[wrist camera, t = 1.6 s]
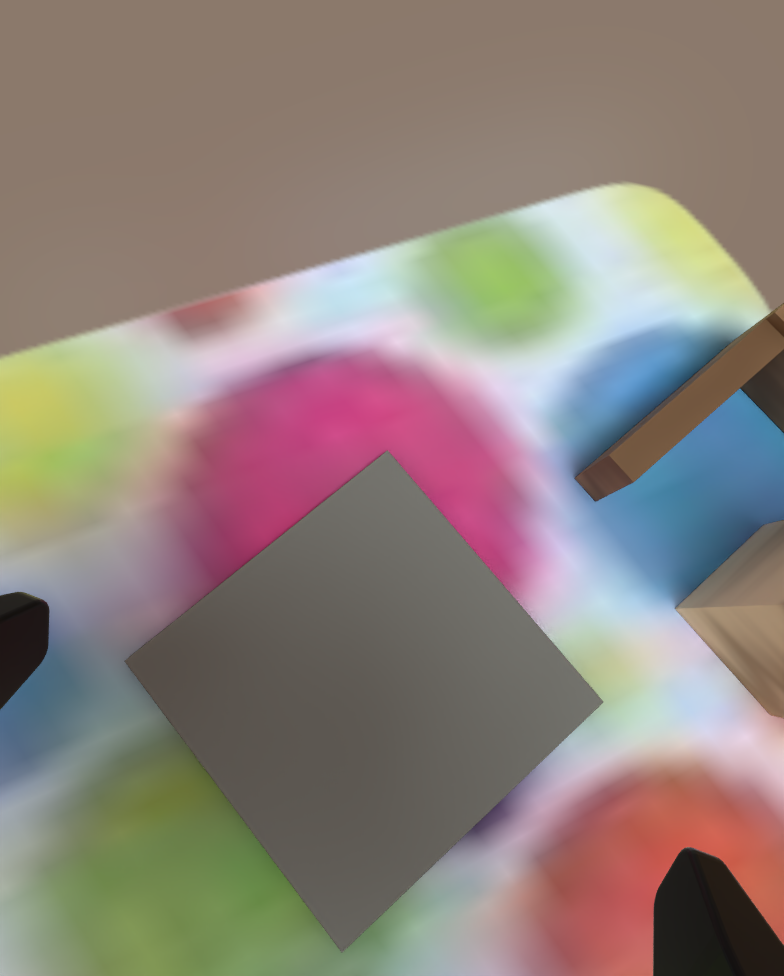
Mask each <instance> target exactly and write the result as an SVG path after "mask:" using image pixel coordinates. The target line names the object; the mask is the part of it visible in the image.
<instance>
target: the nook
mask: <svg viewBox="0 0 784 976" xmlns="http://www.w3.org/2000/svg"><path fill="white" fill-rule="evenodd" d="M739 388H741V389H742V390H743V391H744V392H745V393H746V394H747V395H748V396H749V397H750V398H751V399H752V400H753V401H754V402H755V403H756V404H757V405H758V406H759V407H760V408H761V409H762V410H763V411H764V412H765V413H766V414H767V415H768V417H769V418H770V419H771V420H772V421H773V422H774V423H775V424H776V425H777V426H778V427H779V428H780V429H781V430H782V431H783V432H784V303H783V304H782V305H780V306H779V307H778V308H776V309H775V310H774V311H772V312H771V313H770V314H768V315H767V316H766V317H764V318H763V319H762V320H760V321H759V322H758V323H756V324H755V325H754V326H752V327H751V328H750V329H748V330H747V331H746V332H744V333H743V334H742V335H740V336H739V337H738V338H736V339H735V340H734V341H732V342H731V343H730V344H729V345H728V346H727V347H726V348H724V349H723V350H722V351H721V352H720V353H719V354H717V355H716V356H715V357H714V358H713V359H712V360H711V361H709V362H708V363H707V364H706V365H705V366H704V367H702V368H701V369H700V370H699V371H698V372H697V373H695V374H694V375H693V376H692V377H691V378H690V379H689V380H687V381H686V382H685V383H684V384H683V385H682V386H680V387H679V388H678V389H677V390H676V391H675V392H674V393H672V394H671V395H670V396H669V397H668V398H667V399H665V400H664V401H663V402H662V403H661V404H660V405H659V406H657V407H656V408H655V409H654V410H653V411H652V412H650V413H649V414H648V415H647V416H646V417H645V418H643V419H642V420H641V421H640V422H639V423H638V424H637V425H635V426H634V427H633V428H632V429H631V430H630V431H628V432H627V433H626V434H625V435H624V436H623V437H622V438H620V439H619V440H618V441H617V442H616V443H615V444H613V445H612V446H611V447H610V448H609V449H608V450H607V451H605V452H604V453H603V454H602V455H601V456H600V457H598V458H597V459H596V460H595V461H594V462H593V463H592V464H590V465H589V466H588V467H587V468H586V469H585V470H583V471H582V472H581V473H580V474H579V475H578V476H576V477H575V479H576V480H577V481H578V483H579V484H580V485H581V486H582V487H583V488H584V489H585V490H586V491H587V493H588V494H589V495H590V496H591V497H592V498H593V499H594V500H595V501H598V500H600V499H602V498H604V497H606V496H608V495H609V494H611V493H613V492H615V491H617V490H619V489H621V488H623V487H625V486H627V485H629V484H631V483H633V482H634V481H636V480H637V479H638V478H639V477H640V476H641V475H642V474H643V473H645V472H646V471H647V470H648V469H649V468H650V467H651V466H652V465H654V464H655V463H656V462H657V461H658V460H659V459H660V458H662V457H663V456H664V455H665V454H666V453H667V452H668V451H669V450H671V449H672V448H673V447H674V446H675V445H676V444H677V443H678V442H680V441H681V440H682V439H683V438H684V437H685V436H686V435H687V434H689V433H690V432H691V431H692V430H693V429H694V428H695V427H696V426H698V425H699V424H700V423H701V422H702V421H703V420H704V419H706V418H707V417H708V416H709V415H710V414H711V413H712V412H713V411H715V410H716V409H717V408H718V407H719V406H720V405H721V404H722V403H724V402H725V401H726V400H727V399H728V398H729V397H730V396H731V395H733V394H734V393H735V392H736V391H737V390H738V389H739Z"/></svg>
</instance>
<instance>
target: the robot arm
mask: <svg viewBox="0 0 784 976" xmlns="http://www.w3.org/2000/svg"><path fill="white" fill-rule="evenodd" d="M48 635H49V607H48V604H47V602H45V601H44V600H42V599H40V598H37V597H35V596H32V595H29V594H27V593H23V592H15V593H10V594H6V595H1V596H0V709H1V708H2V707H3V706H4V705H5V704H6V703H7V701H8V700H9V699H10V698H11V697H12V696H13V695H14V693H15V692H16V691H17V690H18V689H19V688H20V687H21V685H22V684H23V683H24V682H25V681H26V680H27V679H28V677H29V676H30V675H31V674H32V673H33V672H34V671H35V670H36V668H37V667H38V666H39V665H40V664H41V662H42V661H43V659H44V657H45V655H46V652H47V649H48ZM653 976H784V945H783V944H782V942H781V941H780V940H779V938H778V937H777V935H776V934H775V933H774V931H773V930H772V929H771V927H770V926H769V924H768V923H767V922H766V920H765V919H764V917H763V916H762V915H761V913H760V912H759V910H758V909H757V908H756V906H755V905H754V903H753V902H752V901H751V899H750V898H749V897H748V895H747V894H746V892H745V891H744V890H743V888H742V887H741V885H740V884H739V883H738V881H737V880H736V878H735V877H734V876H733V874H732V873H731V871H730V870H729V869H728V867H727V866H726V865H725V864H724V862H723V861H721V860H720V859H719V858H717V857H715V856H712V855H710V854H707V853H705V852H702V851H699V850H697V849H694V848H691V847H687V848H684V849H683V850H681V852H680V853H679V854H678V856H677V858H676V859H675V861H674V863H673V864H672V866H671V868H670V869H669V871H668V873H667V874H666V876H665V878H664V879H663V881H662V883H661V884H660V886H659V888H658V890H657V893H656V897H655V902H654V931H653Z"/></svg>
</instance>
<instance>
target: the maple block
mask: <svg viewBox="0 0 784 976" xmlns="http://www.w3.org/2000/svg"><path fill="white" fill-rule="evenodd" d="M675 609H676V610H677V612H678V613H679V614H680V615H681V616H682V617H683V618H684V619H685V621H686V622H687V623H688V624H689V625H690V626H691V627H692V628H693V629H694V631H695V632H696V633H697V634H698V635H699V636H700V637H701V638H702V639H703V641H704V642H705V643H706V644H707V645H708V646H709V647H710V648H711V649H712V651H713V652H714V653H715V654H716V655H717V656H718V657H719V658H720V659H721V661H722V662H723V663H724V664H725V665H726V666H727V667H728V668H729V670H730V671H731V672H732V673H733V674H734V675H735V676H736V677H737V678H738V680H739V681H740V682H741V683H742V684H743V685H744V686H745V687H746V688H747V690H748V691H749V692H750V693H751V694H752V695H753V696H754V697H755V698H756V700H757V701H758V702H759V703H760V704H761V705H762V706H763V707H764V709H765V710H766V711H767V712H768V713H769V714H770V715H772V716H776V717H781V718H784V520H781V521H777V522H773V523H769V524H764V525H763V526H762V527H761V528H759V529H758V530H757V531H756V532H755V533H754V534H753V535H752V536H751V537H750V538H749V539H748V540H747V541H746V542H745V543H744V544H743V545H742V546H741V547H739V548H738V549H737V550H736V551H735V552H734V553H733V554H732V555H731V556H730V557H729V558H728V559H727V560H726V561H725V562H724V563H723V564H722V565H720V566H719V567H718V568H717V569H716V570H715V571H714V572H713V573H712V574H711V575H710V576H709V577H708V578H707V579H706V580H705V581H704V582H703V583H702V584H700V585H699V586H698V587H697V588H696V589H695V590H694V591H693V592H692V593H691V594H690V595H689V596H688V597H687V598H686V599H685V600H684V601H683V602H681V603H680V604H679V605H678V606H677V607H676V608H675Z"/></svg>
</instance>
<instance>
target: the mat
mask: <svg viewBox="0 0 784 976" xmlns="http://www.w3.org/2000/svg"><path fill="white" fill-rule="evenodd" d="M125 663H126V664H127V665H128V667H129V668H130V669H131V671H132V672H133V673H134V675H135V676H136V677H137V679H138V680H139V681H140V683H141V684H142V685H143V687H144V688H145V689H146V691H147V692H148V693H149V695H150V696H151V697H152V699H153V700H154V701H155V703H156V704H157V705H158V707H159V708H160V710H161V711H162V712H163V714H164V715H165V716H166V718H167V719H168V720H169V722H170V723H171V724H172V726H173V727H174V728H175V730H176V731H177V732H178V734H179V735H180V736H181V738H182V739H183V740H184V742H185V743H186V744H187V746H188V747H189V748H190V750H191V751H192V752H193V754H194V755H195V756H196V758H197V759H198V760H199V762H200V763H201V764H202V766H203V767H204V768H205V770H206V771H207V773H208V774H209V775H210V777H211V778H212V779H213V781H214V782H215V783H216V785H217V786H218V787H219V789H220V790H221V791H222V793H223V794H224V795H225V797H226V798H227V799H228V801H229V802H230V803H231V805H232V806H233V807H234V809H235V810H236V811H237V813H238V814H239V815H240V817H241V818H242V819H243V821H244V822H245V823H246V825H247V826H248V827H249V829H250V830H251V831H252V833H253V834H254V836H255V837H256V838H257V840H258V841H259V842H260V844H261V845H262V846H263V848H264V849H265V850H266V852H267V853H268V854H269V856H270V857H271V858H272V860H273V861H274V862H275V864H276V865H277V866H278V868H279V869H280V870H281V872H282V873H283V874H284V876H285V877H286V878H287V880H288V881H289V882H290V884H291V885H292V886H293V888H294V889H295V890H296V892H297V893H298V894H299V896H300V897H301V899H302V900H303V901H304V903H305V904H306V905H307V907H308V908H309V909H310V911H311V912H312V913H313V915H314V916H315V917H316V919H317V920H318V921H319V923H320V924H321V925H322V927H323V928H324V929H325V931H326V932H327V933H328V935H329V936H330V937H331V939H332V940H333V941H334V943H335V944H336V945H337V947H338V948H339V949H340V951H341V952H343V951H344V950H345V949H346V948H347V947H348V946H350V945H351V944H352V943H353V942H354V941H355V940H356V939H357V938H358V937H359V936H360V935H361V934H362V933H363V932H364V931H365V930H366V929H367V928H368V927H369V926H370V925H371V924H372V923H374V922H375V921H376V920H377V919H378V918H379V917H380V916H381V915H382V914H383V913H384V912H385V911H386V910H387V909H388V908H389V907H390V906H391V905H392V904H393V903H394V902H395V901H396V900H398V899H399V898H400V897H401V896H402V895H403V894H404V893H405V892H406V891H407V890H408V889H409V888H410V887H411V886H412V885H413V884H414V883H415V882H416V881H417V880H418V879H419V878H420V877H422V876H423V875H424V874H425V873H426V872H427V871H428V870H429V869H430V868H431V867H432V866H433V865H434V864H435V863H436V862H437V861H438V860H439V859H440V858H441V857H442V856H443V855H444V854H446V853H447V852H448V851H449V850H450V849H451V848H452V847H453V846H454V845H455V844H456V843H457V842H458V841H459V840H460V839H461V838H462V837H463V836H464V835H465V834H466V833H467V832H468V831H470V830H471V829H472V828H473V827H474V826H475V825H476V824H477V823H478V822H479V821H480V820H481V819H482V818H483V817H484V816H485V815H486V814H487V813H488V812H489V811H490V810H491V809H492V808H494V807H495V806H496V805H497V804H498V803H499V802H500V801H501V800H502V799H503V798H504V797H505V796H506V795H507V794H508V793H509V792H510V791H511V790H512V789H513V788H514V787H515V786H516V785H518V784H519V783H520V782H521V781H522V780H523V779H524V778H525V777H526V776H527V775H528V774H529V773H530V772H531V771H532V770H533V769H534V768H535V767H536V766H537V765H538V764H539V763H540V762H542V761H543V760H544V759H545V758H546V757H547V756H548V755H549V754H550V753H551V752H552V751H553V750H554V749H555V748H556V747H557V746H558V745H559V744H560V743H561V742H562V741H563V740H564V739H566V738H567V737H568V736H569V735H570V734H571V733H572V732H573V731H574V730H575V729H576V728H577V727H578V726H579V725H580V724H581V723H582V722H583V721H584V720H585V719H586V718H587V717H588V716H590V715H591V714H592V713H593V712H594V711H595V710H596V709H597V708H598V707H599V706H600V705H601V704H602V703H603V701H602V700H601V698H600V697H599V696H598V695H597V694H596V693H595V691H594V690H593V689H592V688H591V687H590V686H589V684H588V683H587V682H586V681H585V680H584V679H583V677H582V676H581V675H580V674H579V673H578V672H577V670H576V669H575V668H574V667H573V666H572V665H571V663H570V662H569V661H568V660H567V659H566V658H565V656H564V655H563V654H562V653H561V652H560V651H559V649H558V648H557V647H556V646H555V645H554V644H553V642H552V641H551V640H550V639H549V638H548V637H547V635H546V634H545V633H544V632H543V631H542V630H541V629H540V627H539V626H538V625H537V624H536V623H535V622H534V620H533V619H532V618H531V617H530V616H529V615H528V613H527V612H526V611H525V610H524V609H523V608H522V606H521V605H520V604H519V603H518V602H517V601H516V599H515V598H514V597H513V596H512V595H511V594H510V592H509V591H508V590H507V589H506V588H505V587H504V585H503V584H502V583H501V582H500V581H499V580H498V578H497V577H496V576H495V575H494V574H493V573H492V571H491V570H490V569H489V568H488V567H487V566H486V564H485V563H484V562H483V561H482V560H481V559H480V557H479V556H478V555H477V554H476V553H475V552H474V550H473V549H472V548H471V547H470V546H469V545H468V543H467V542H466V541H465V540H464V539H463V538H462V536H461V535H460V534H459V533H458V532H457V531H456V530H455V528H454V527H453V526H452V525H451V524H450V523H449V521H448V520H447V519H446V518H445V517H444V516H443V514H442V513H441V512H440V511H439V510H438V509H437V507H436V506H435V505H434V504H433V503H432V502H431V500H430V499H429V498H428V497H427V496H426V495H425V493H424V492H423V491H422V490H421V489H420V488H419V486H418V485H417V484H416V483H415V482H414V481H413V479H412V478H411V477H410V476H409V475H408V474H407V472H406V471H405V470H404V469H403V468H402V467H401V465H400V464H399V463H398V462H397V461H396V460H395V458H394V457H393V456H392V455H391V454H390V453H389V451H388V450H387V451H386V452H385V453H384V454H382V455H381V456H380V457H379V458H377V459H376V460H375V461H374V462H372V463H371V464H370V465H369V466H367V467H366V468H365V469H364V470H362V471H361V472H360V473H359V474H357V475H356V476H355V477H354V478H352V479H351V480H350V481H349V482H347V483H346V484H345V485H344V486H342V487H341V488H340V489H339V490H337V491H336V492H335V493H334V494H332V495H331V496H330V497H329V498H327V499H326V500H325V501H324V502H322V503H321V504H320V505H319V506H317V507H316V508H315V509H314V510H312V511H311V512H310V513H309V514H307V515H306V516H305V517H304V518H303V519H301V520H300V521H299V522H298V523H296V524H295V525H294V526H293V527H291V528H290V529H289V530H288V531H286V532H285V533H284V534H283V535H281V536H280V537H279V538H278V539H276V540H275V541H274V542H273V543H271V544H270V545H269V546H268V547H266V548H265V549H264V550H263V551H261V552H260V553H259V554H258V555H256V556H255V557H254V558H253V559H251V560H250V561H249V562H248V563H246V564H245V565H244V566H243V567H241V568H240V569H239V570H238V571H236V572H235V573H234V574H233V575H231V576H230V577H229V578H228V579H226V580H225V581H224V582H223V583H221V584H220V585H219V586H218V587H216V588H215V589H214V590H213V591H211V592H210V593H209V594H208V595H206V596H205V597H204V598H203V599H201V600H200V601H199V602H198V603H196V604H195V605H194V606H193V607H191V608H190V609H189V610H188V611H186V612H185V613H184V614H183V615H181V616H180V617H179V618H178V619H176V620H175V621H174V622H173V623H171V624H170V625H169V626H168V627H166V628H165V629H164V630H163V631H161V632H160V633H159V634H158V635H156V636H155V637H154V638H153V639H151V640H150V641H149V642H148V643H146V644H145V645H144V646H143V647H141V648H140V649H139V650H138V651H136V652H135V653H134V654H133V655H131V656H130V657H129V658H128V659H126V660H125Z"/></svg>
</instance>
